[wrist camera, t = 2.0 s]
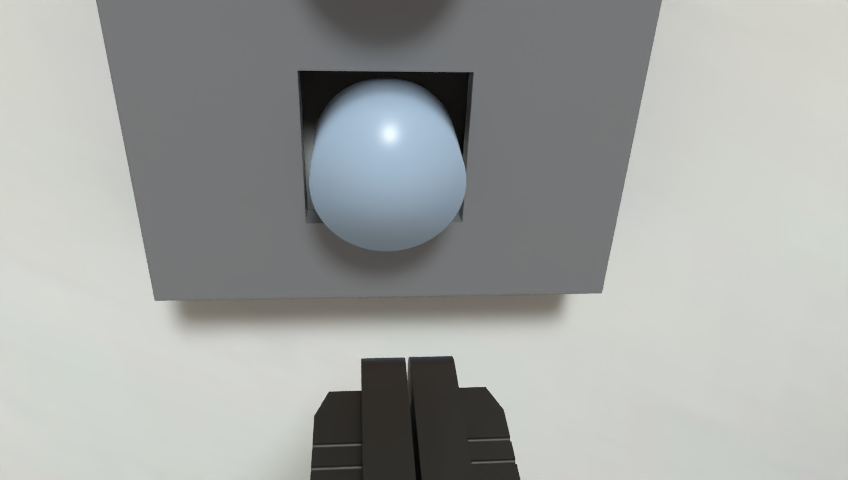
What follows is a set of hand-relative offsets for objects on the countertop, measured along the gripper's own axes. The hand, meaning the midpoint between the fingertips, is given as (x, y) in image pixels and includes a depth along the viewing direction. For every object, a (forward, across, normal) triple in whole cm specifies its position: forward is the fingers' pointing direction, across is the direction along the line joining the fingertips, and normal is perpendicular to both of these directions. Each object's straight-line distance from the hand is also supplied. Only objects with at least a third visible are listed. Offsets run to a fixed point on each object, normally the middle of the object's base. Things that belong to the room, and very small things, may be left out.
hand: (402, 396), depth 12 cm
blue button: (+10, 0, 0) cm, 10 cm away
